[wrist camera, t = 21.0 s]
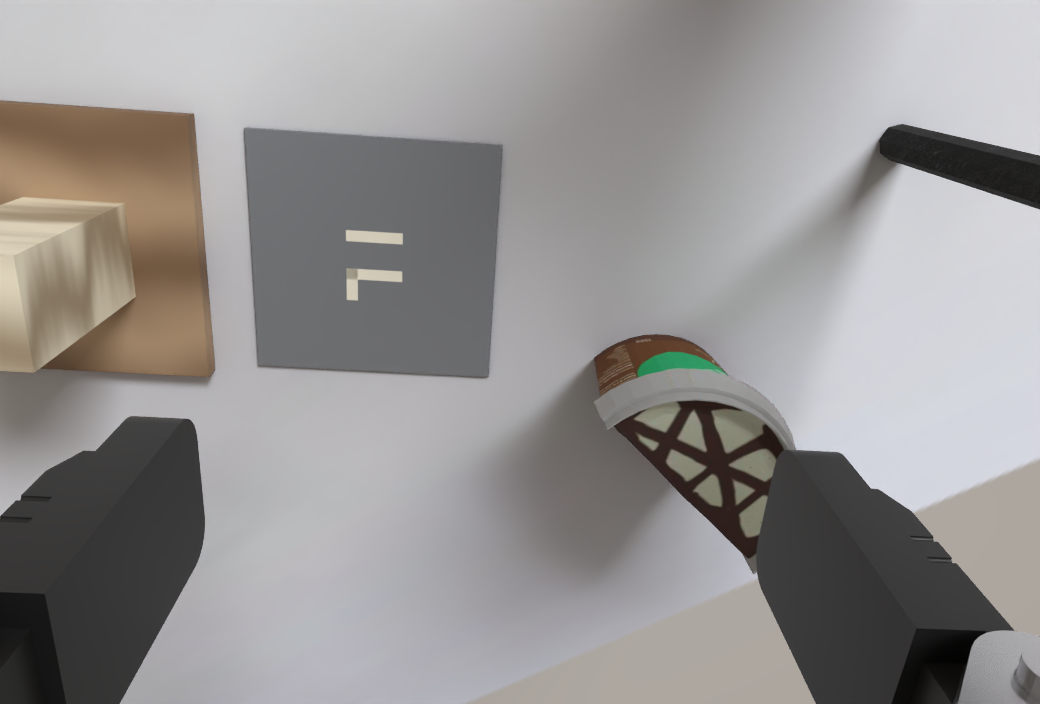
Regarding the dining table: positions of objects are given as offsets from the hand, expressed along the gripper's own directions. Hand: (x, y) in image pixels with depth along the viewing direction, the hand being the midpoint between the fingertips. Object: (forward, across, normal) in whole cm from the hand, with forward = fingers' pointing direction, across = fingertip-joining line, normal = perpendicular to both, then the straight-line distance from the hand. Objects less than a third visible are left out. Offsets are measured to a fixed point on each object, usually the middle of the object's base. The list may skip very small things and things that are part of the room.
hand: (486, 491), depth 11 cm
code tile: (+32, +6, +6) cm, 33 cm away
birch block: (+31, +21, +6) cm, 38 cm away
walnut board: (+32, +21, +6) cm, 39 cm away
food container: (+32, -12, +12) cm, 37 cm away
